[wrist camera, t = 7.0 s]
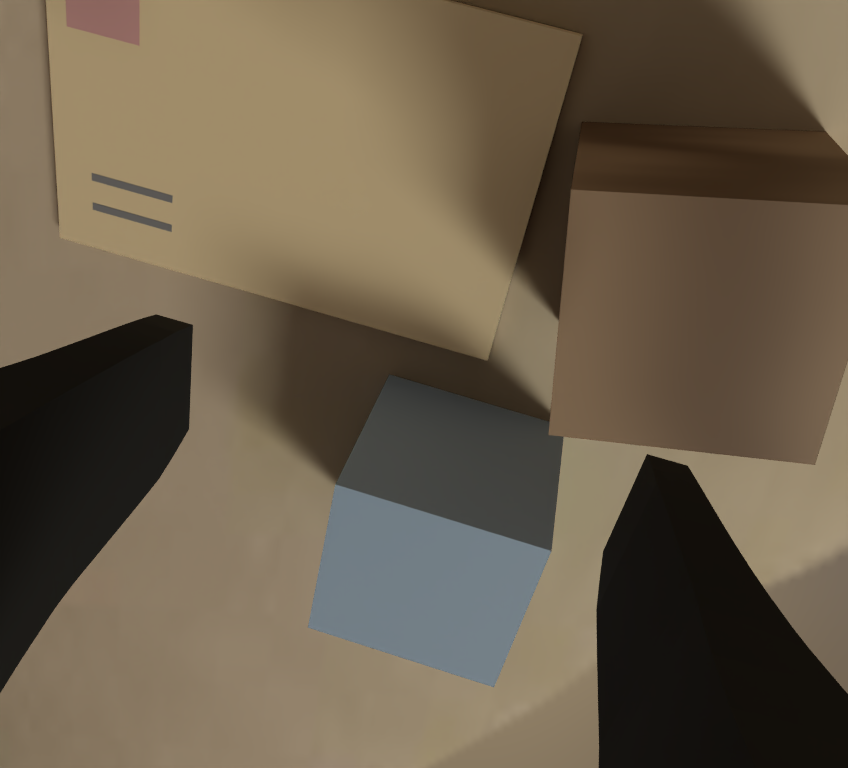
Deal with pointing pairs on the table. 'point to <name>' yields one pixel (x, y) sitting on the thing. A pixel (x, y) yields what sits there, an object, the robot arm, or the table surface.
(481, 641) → the slate cube
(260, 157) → the letter
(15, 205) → the table surface
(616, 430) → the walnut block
